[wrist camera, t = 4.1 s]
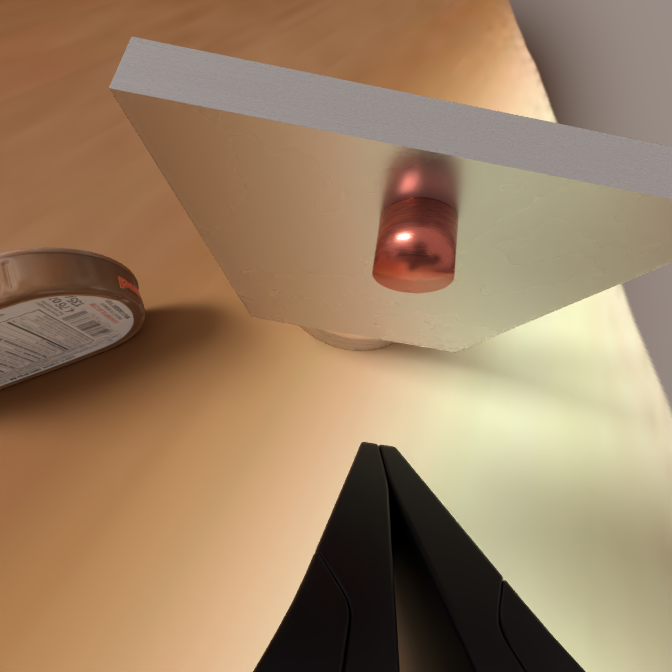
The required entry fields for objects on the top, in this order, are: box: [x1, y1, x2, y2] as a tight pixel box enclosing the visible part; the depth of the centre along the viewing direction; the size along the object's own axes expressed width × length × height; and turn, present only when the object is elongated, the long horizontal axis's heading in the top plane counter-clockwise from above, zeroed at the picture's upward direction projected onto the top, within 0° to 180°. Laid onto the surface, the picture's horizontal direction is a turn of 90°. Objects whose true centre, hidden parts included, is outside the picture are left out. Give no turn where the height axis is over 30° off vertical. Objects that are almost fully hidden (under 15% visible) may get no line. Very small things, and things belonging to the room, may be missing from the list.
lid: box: [109, 37, 672, 352], centre depth 12 cm, size 13×12×3 cm
